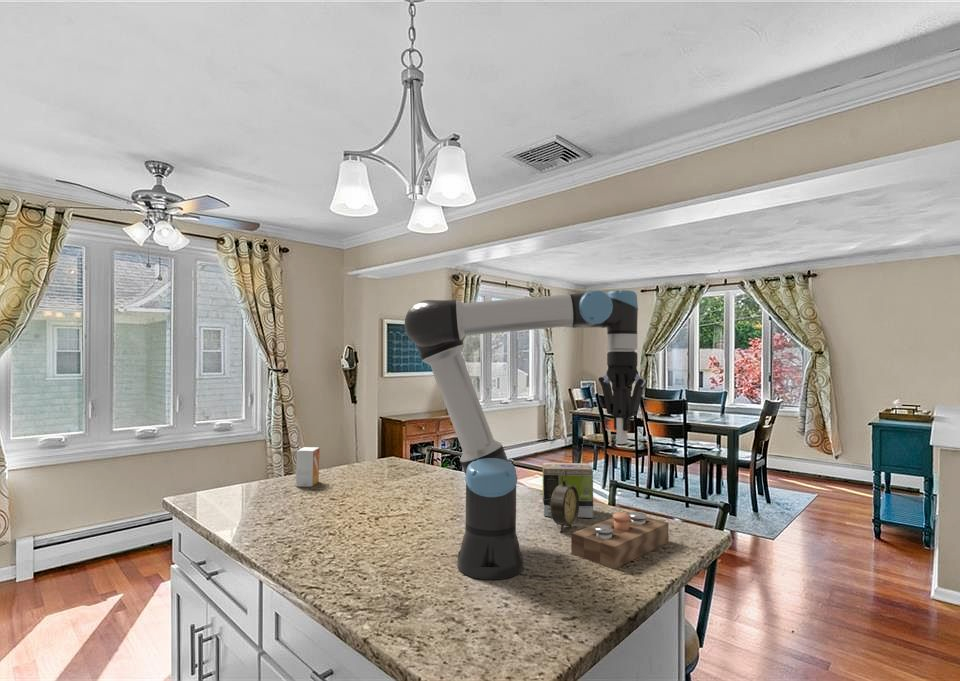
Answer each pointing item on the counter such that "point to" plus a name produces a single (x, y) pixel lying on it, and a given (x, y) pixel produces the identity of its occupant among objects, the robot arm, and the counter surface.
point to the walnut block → (619, 542)
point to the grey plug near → (604, 531)
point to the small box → (307, 466)
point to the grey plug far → (638, 518)
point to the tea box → (575, 476)
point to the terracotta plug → (621, 521)
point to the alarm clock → (564, 504)
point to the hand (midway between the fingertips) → (621, 443)
